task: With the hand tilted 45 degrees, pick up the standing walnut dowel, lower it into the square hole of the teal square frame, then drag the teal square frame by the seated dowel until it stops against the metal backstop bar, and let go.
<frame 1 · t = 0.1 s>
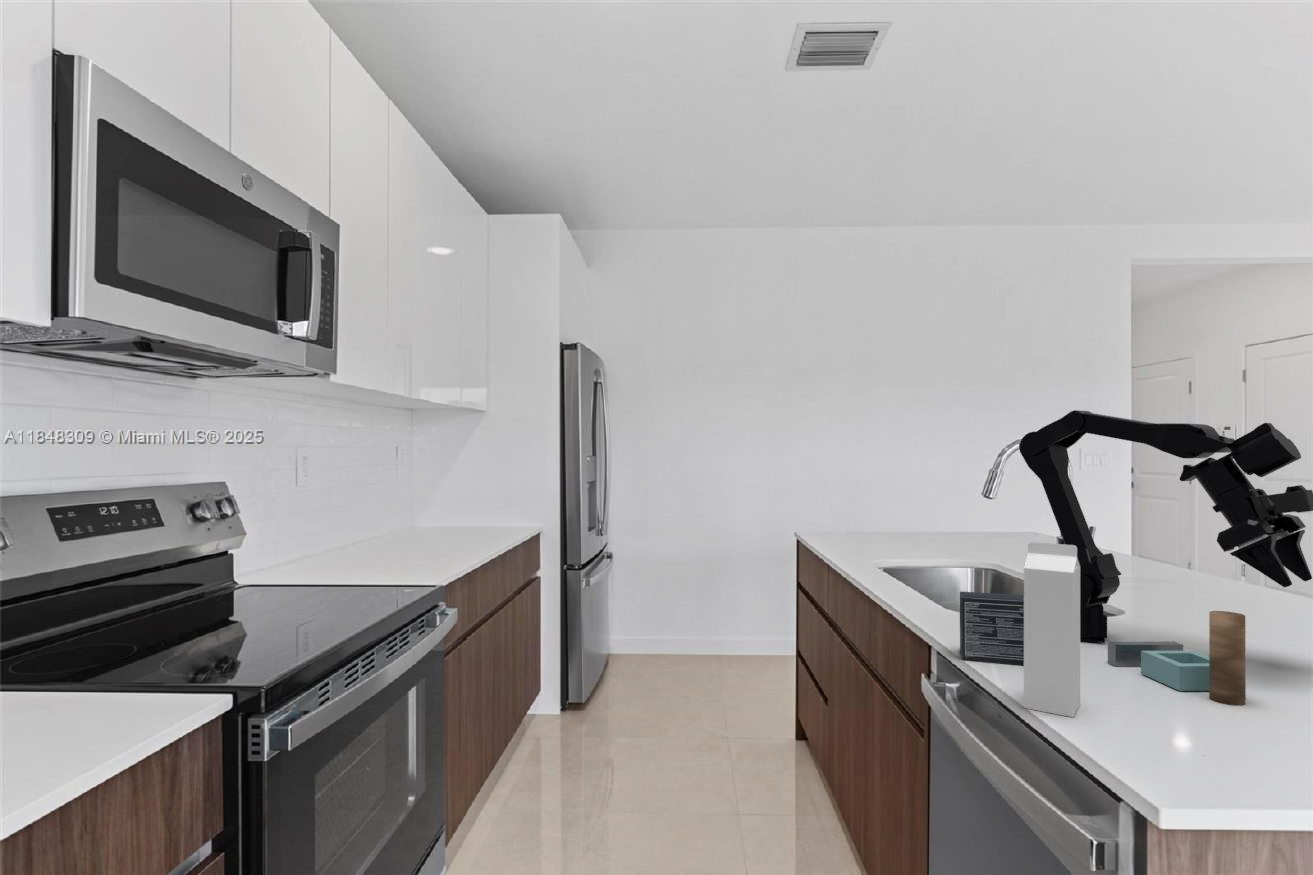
hand: (1298, 583, 113), 15 cm above the countertop, tool tilted 35°, fingers open, 9 cm apart
small box: (994, 659, 125), on the countertop
milk: (1052, 708, 102), on the countertop
dowel: (1227, 700, 105), on the countertop
backstop: (1145, 664, 122), on the countertop
teal square frame: (1186, 669, 113), point 2 cm above the countertop, slide at 0.0 cm
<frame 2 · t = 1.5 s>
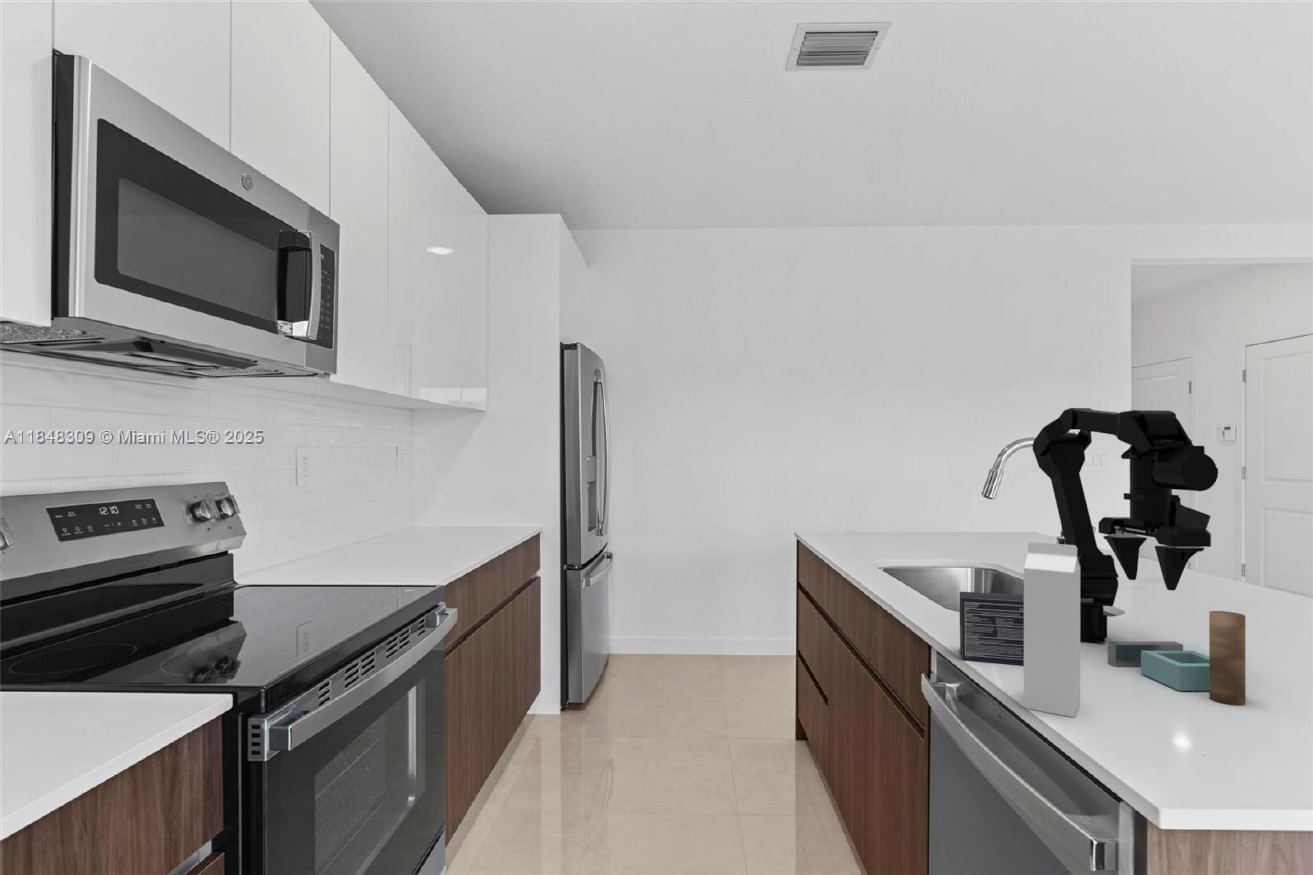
hand: (1150, 584, 121), 13 cm above the countertop, tool pointing down, fingers open, 9 cm apart
nothing on the countertop moved.
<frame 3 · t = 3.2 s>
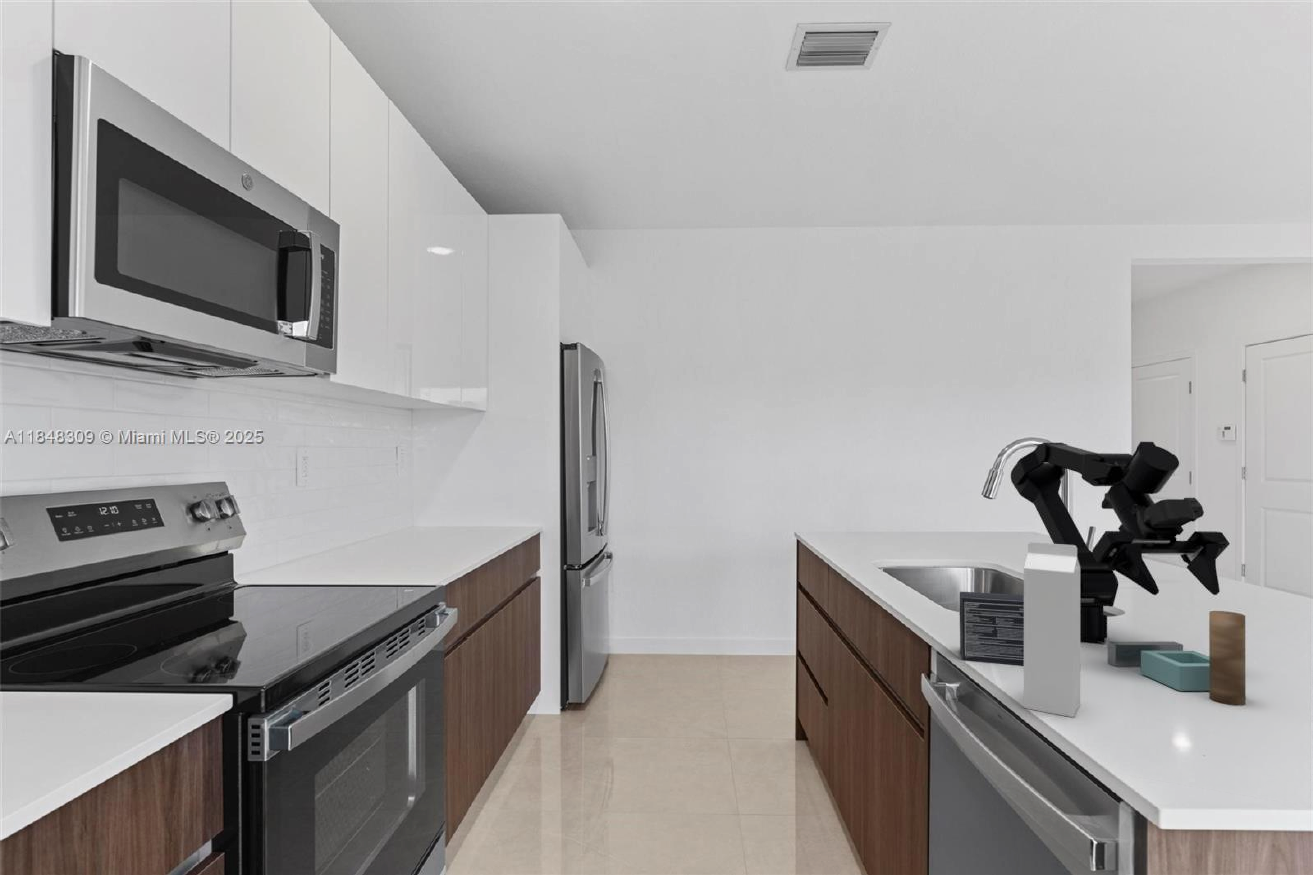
hand: (1186, 593, 113), 13 cm above the countertop, tool tilted 45°, fingers open, 9 cm apart
nothing on the countertop moved.
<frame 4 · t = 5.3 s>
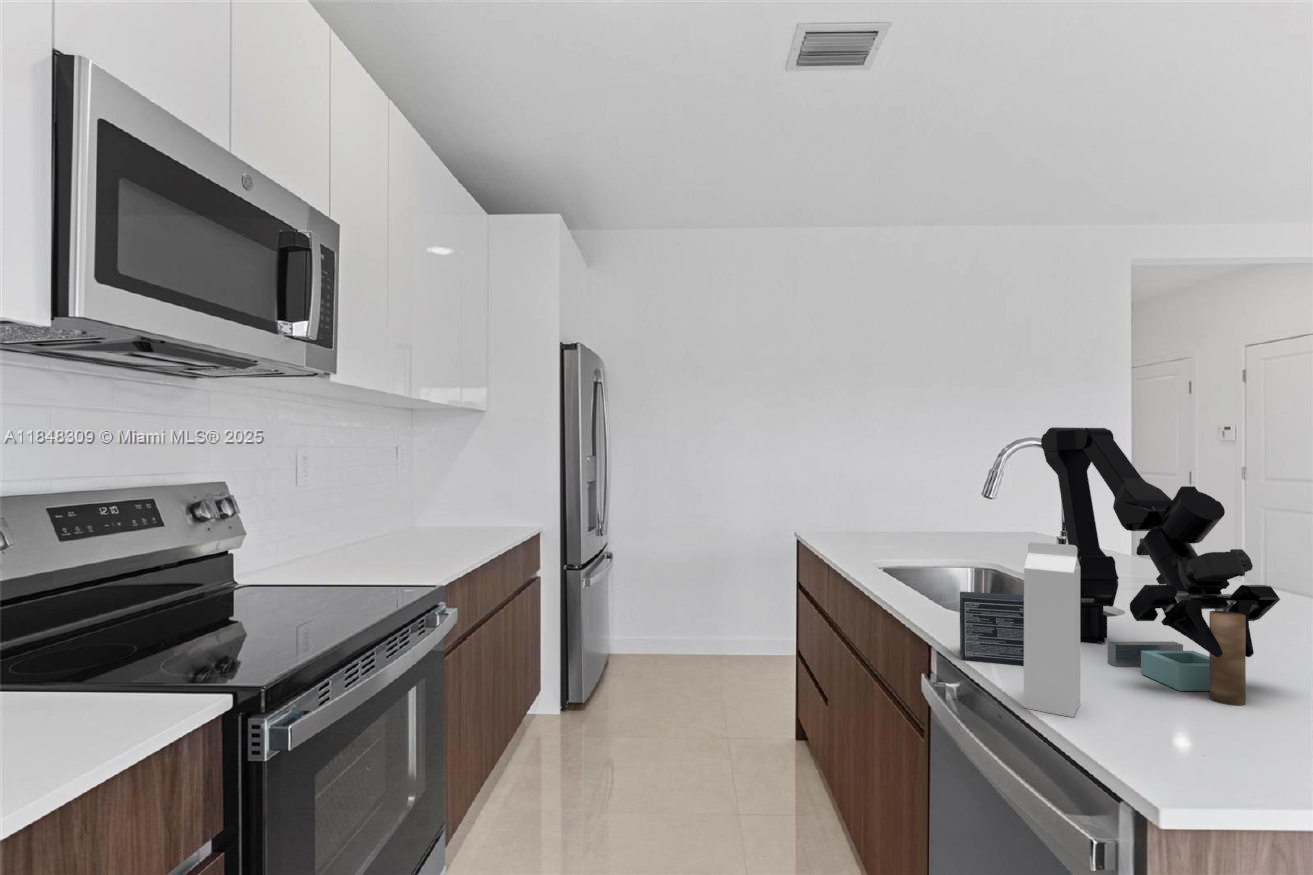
hand: (1235, 655, 103), 7 cm above the countertop, tool tilted 45°, fingers closed on dowel, 4 cm apart
dowel: (1227, 700, 105), on the countertop, touching gripper
everything else where it was.
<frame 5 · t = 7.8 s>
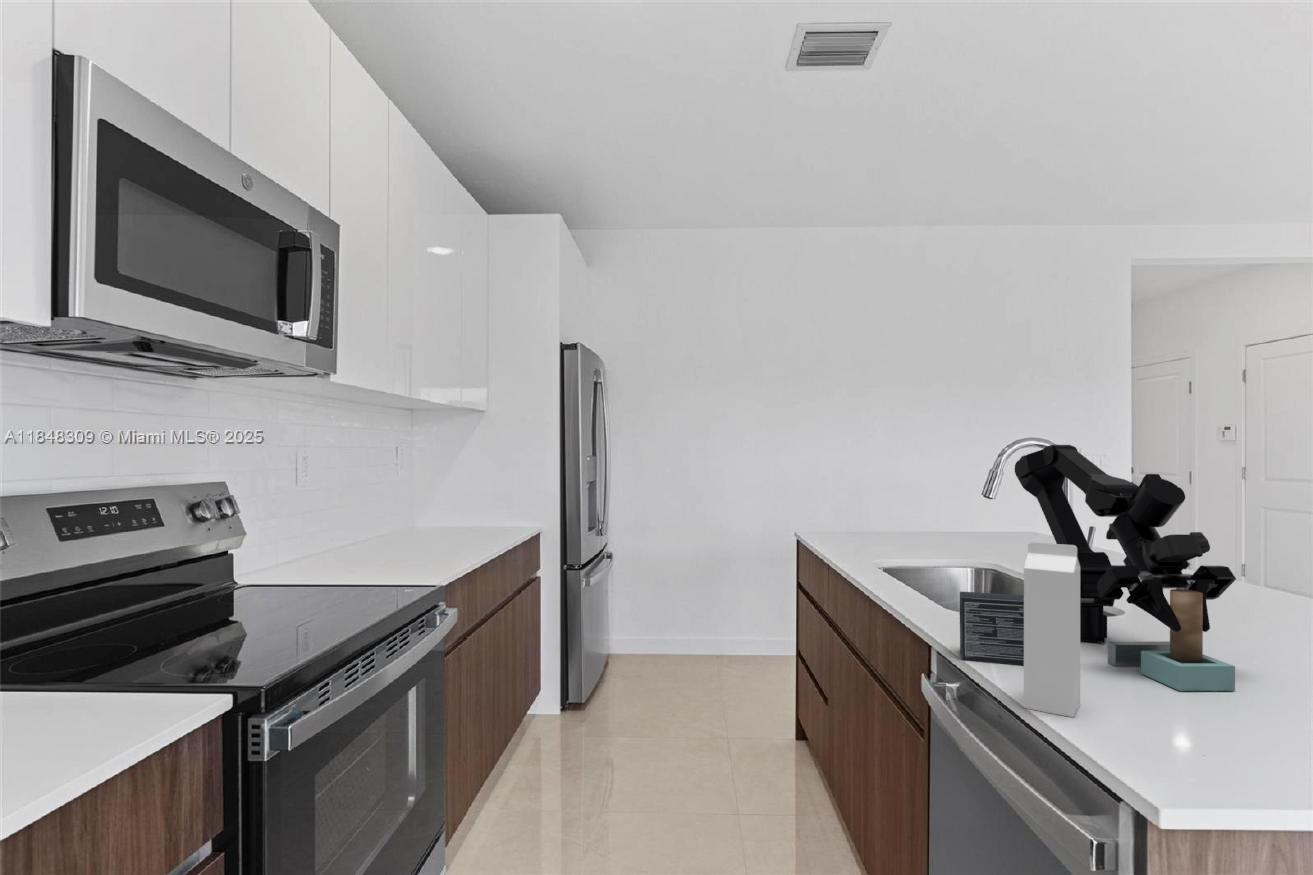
hand: (1192, 630, 111), 8 cm above the countertop, tool tilted 45°, fingers closed on dowel, 4 cm apart
dowel: (1186, 672, 113), point 2 cm above the countertop, touching gripper
everything else where it was.
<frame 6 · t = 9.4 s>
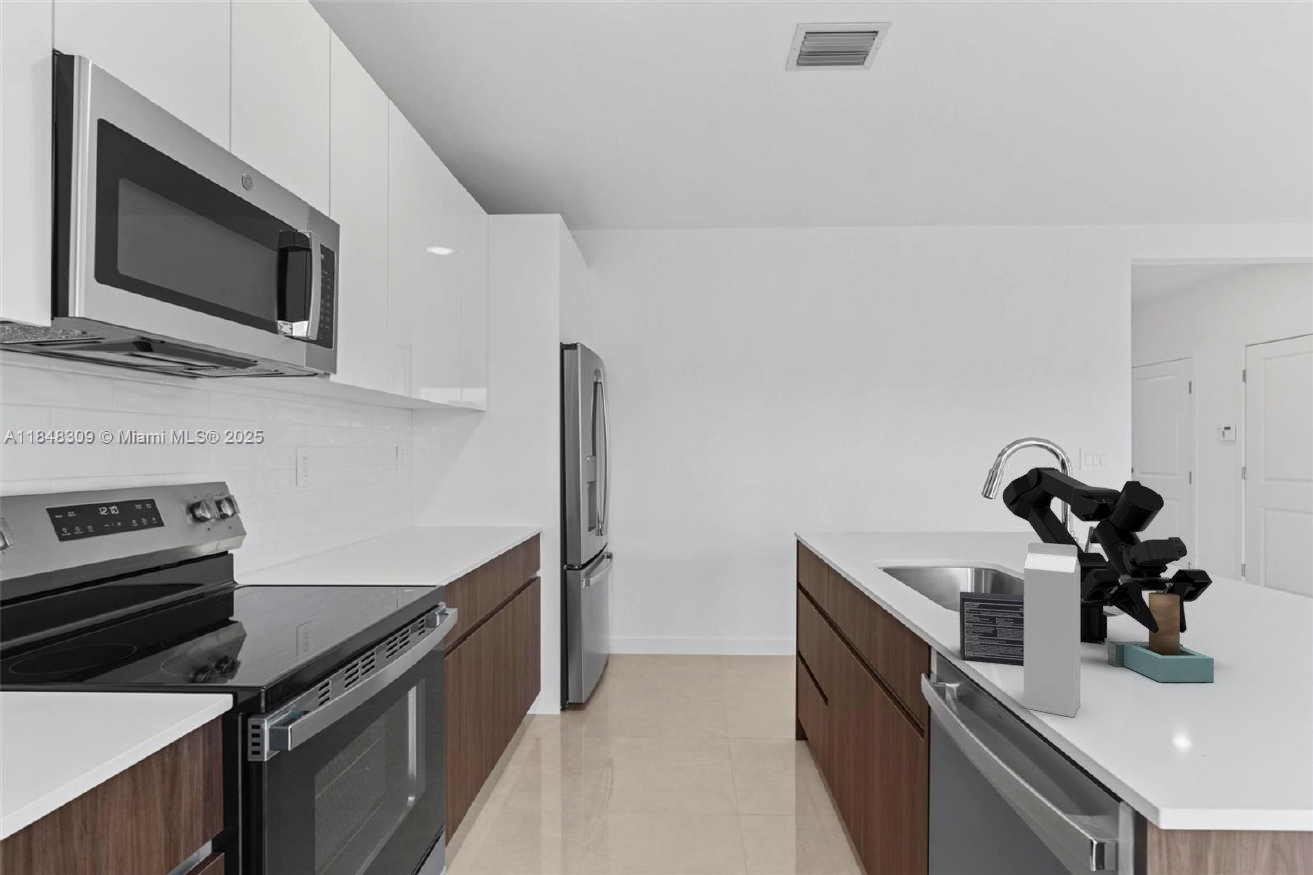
hand: (1170, 631, 116), 7 cm above the countertop, tool tilted 45°, fingers closed on dowel, 4 cm apart
dowel: (1164, 672, 117), resting in teal square frame, touching gripper
teal square frame: (1167, 662, 117), point 2 cm above the countertop, slide at 4.0 cm, touching dowel
everything else where it was.
when the fingers open (7 cm above the countertop, at t = 10.4 s): dowel stays where it is, resting in teal square frame.
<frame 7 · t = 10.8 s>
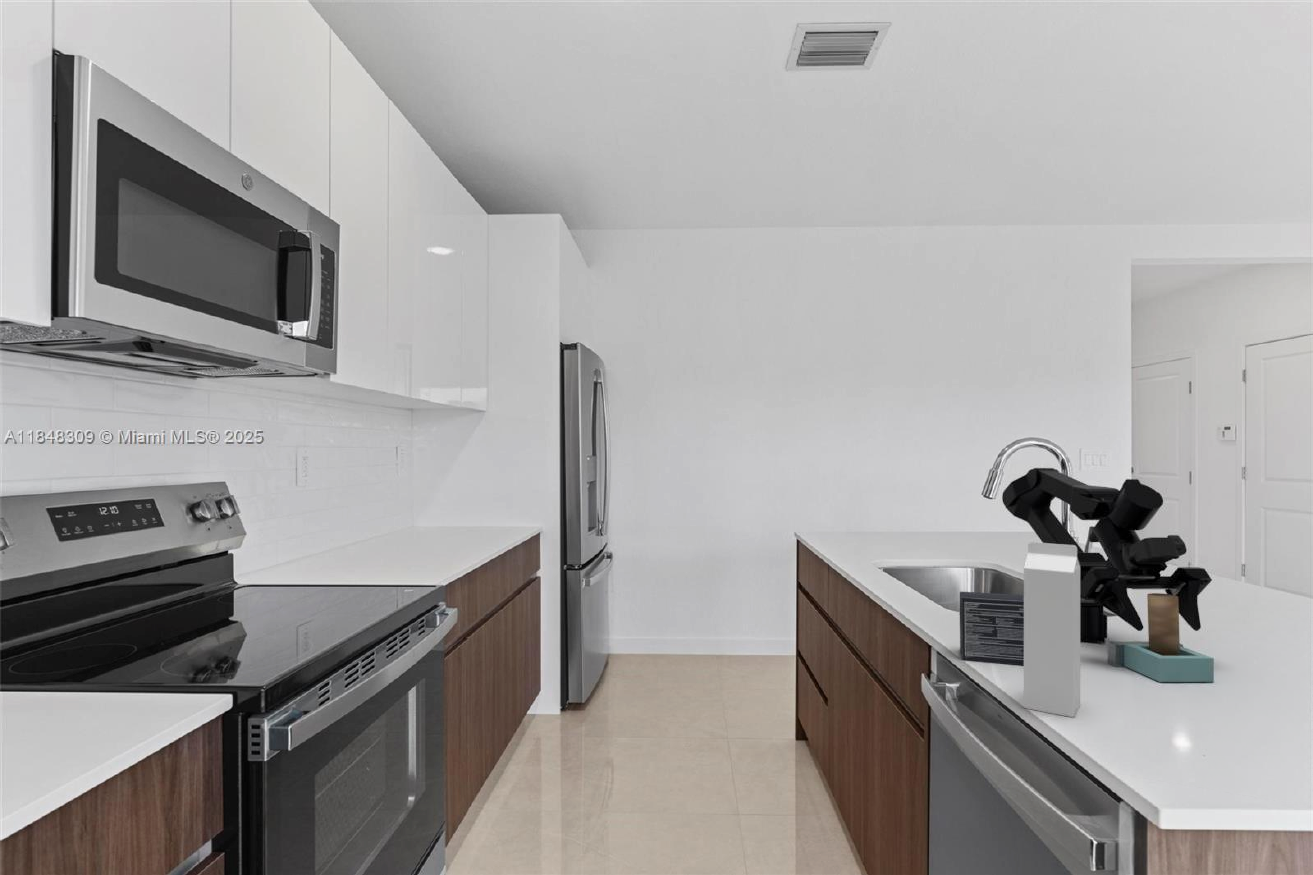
hand: (1169, 629, 116), 7 cm above the countertop, tool tilted 45°, fingers open, 9 cm apart
dowel: (1164, 673, 117), resting in teal square frame
teal square frame: (1167, 662, 117), point 2 cm above the countertop, slide at 4.0 cm, touching backstop
everything else where it was.
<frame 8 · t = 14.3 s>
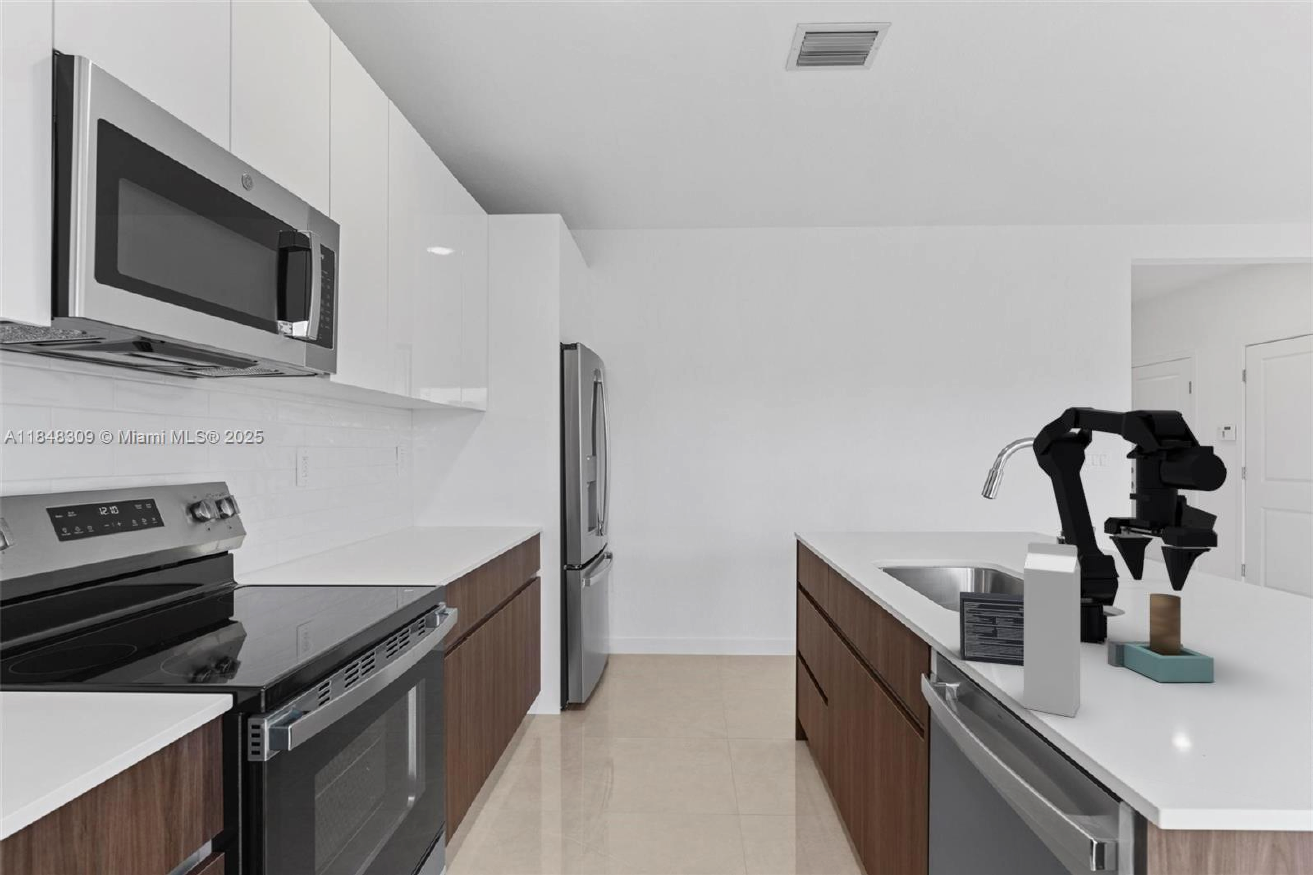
hand: (1156, 585, 121), 13 cm above the countertop, tool pointing down, fingers open, 9 cm apart
nothing on the countertop moved.
at the end: teal square frame slide at 4.0 cm; dowel 0.6 cm from the teal square frame (horizontally); dowel resting in teal square frame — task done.
